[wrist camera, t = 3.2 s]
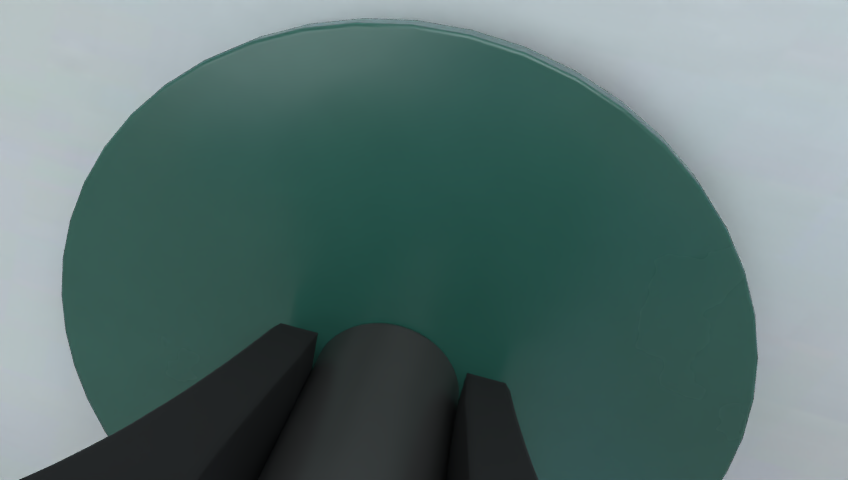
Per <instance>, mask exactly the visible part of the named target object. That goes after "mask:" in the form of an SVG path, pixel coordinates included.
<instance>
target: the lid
mask: <svg viewBox="0 0 848 480" xmlns="http://www.w3.org/2000/svg"><path fill="white" fill-rule="evenodd" d="M62 302H63V311H64V320H65V329H66V334H67V338H68V342H69V346H70V350H71V354H72V358H73V362H74V366H75V368H76V371H77V374H78V376H79V379H80V381H81V384H82V386H83V389H84V391H85V394H86V396H87V399H88V401H89V403H90V405H91V407H92V408H93V410H94V412H95V414H96V416H97V418H98V420H99V421H100V423H101V425H102V427H103V429H104V431H105V432H106V434H107V435H108V436H110V435H112V434H114V433H115V432H117V431H119V430H121V429H123V428H124V427H126V426H128V425H130V424H131V423H133V422H135V421H136V420H138V419H140V418H141V417H143V416H145V415H146V414H148V413H149V412H151V411H153V410H154V409H156V408H158V407H159V406H161V405H163V404H164V403H166V402H168V401H169V400H171V399H173V398H174V397H176V396H177V395H179V394H180V393H182V392H183V391H185V390H186V389H188V388H189V387H191V386H192V385H194V384H195V383H197V382H198V381H200V380H201V379H203V378H204V377H206V376H207V375H209V374H210V373H211V372H213V371H214V370H216V369H217V368H219V367H220V366H222V365H223V364H224V363H226V362H227V361H229V360H230V359H231V358H233V357H234V356H235V355H237V354H238V353H240V352H241V351H242V350H244V349H245V348H246V347H248V346H249V345H250V344H252V343H253V342H254V341H256V340H257V339H258V338H260V337H261V336H262V335H263V334H265V333H266V332H267V331H269V330H270V329H271V328H273V327H274V326H276V325H278V324H280V323H282V324H286V325H290V326H294V327H297V328H301V329H305V330H309V331H312V332H316V333H318V335H317V341H316V347H315V353H314V359H313V365H312V371H311V373H310V375H309V377H308V379H307V381H306V383H305V385H304V387H303V389H302V391H301V393H300V395H299V397H298V399H297V401H296V403H295V405H294V407H293V409H292V411H291V413H290V415H289V417H288V419H287V421H286V423H285V425H284V427H283V429H282V431H281V433H280V435H279V437H278V440H277V442H276V444H275V446H274V448H273V450H272V452H271V454H270V456H269V458H268V460H267V462H266V464H265V466H264V468H263V470H262V472H261V474H260V476H259V478H258V480H445V479H446V473H447V464H448V456H449V450H450V444H451V437H452V431H453V425H454V419H455V413H456V408H457V405H458V401H459V398H460V395H461V391H462V388H463V385H464V381H465V378H466V375H467V373H470V374H473V375H477V376H481V377H485V378H488V379H492V380H496V381H499V382H503V383H506V385H507V387H508V388H509V390H510V392H511V397H512V401H513V405H514V409H515V412H516V416H517V419H518V423H519V426H520V429H521V432H522V435H523V438H524V441H525V444H526V447H527V450H528V453H529V456H530V459H531V462H532V464H533V467H534V470H535V472H536V475H537V477H538V480H722V479H723V477H724V476H725V474H726V473H727V471H728V469H729V466H730V464H731V462H732V460H733V458H734V456H735V454H736V451H737V449H738V447H739V445H740V443H741V441H742V439H743V435H744V431H745V428H746V424H747V421H748V417H749V414H750V410H751V406H752V403H753V399H754V390H755V381H756V371H757V362H758V352H757V337H756V321H755V313H754V308H753V304H752V300H751V296H750V291H749V287H748V283H747V279H746V274H745V271H744V268H743V266H742V264H741V261H740V259H739V256H738V254H737V252H736V249H735V247H734V244H733V242H732V240H731V237H730V235H729V232H728V230H727V228H726V226H725V224H724V223H723V221H722V219H721V218H720V216H719V215H718V213H717V211H716V210H715V208H714V206H713V205H712V203H711V202H710V200H709V198H708V197H707V195H706V193H705V192H704V190H703V189H702V187H701V185H700V184H699V182H698V180H697V179H696V177H695V176H694V174H693V173H692V172H691V171H690V170H689V168H688V167H687V166H686V165H685V164H684V163H683V161H682V160H681V159H680V158H679V157H678V155H677V154H676V153H675V152H674V151H673V150H672V148H671V147H670V146H669V145H668V144H667V142H666V141H665V140H664V139H663V138H662V137H661V136H660V135H659V134H658V133H657V132H656V131H655V130H654V129H652V128H651V127H650V126H649V125H648V124H647V123H646V122H645V121H643V120H642V119H641V118H640V117H639V116H638V115H637V114H635V113H634V112H633V111H632V110H631V109H630V108H629V107H628V106H626V105H625V104H624V103H623V102H622V101H620V100H619V99H617V98H616V97H614V96H613V95H611V94H610V93H608V92H607V91H605V90H604V89H602V88H601V87H599V86H598V85H596V84H595V83H593V82H592V81H590V80H589V79H587V78H586V77H584V76H583V75H581V74H580V73H578V72H576V71H575V70H573V69H570V68H568V67H566V66H564V65H562V64H560V63H558V62H556V61H554V60H552V59H549V58H547V57H545V56H543V55H541V54H539V53H537V52H535V51H533V50H531V49H529V48H526V47H524V46H521V45H518V44H514V43H511V42H508V41H505V40H502V39H499V38H496V37H493V36H489V35H486V34H483V33H480V32H477V31H474V30H470V29H464V28H458V27H452V26H447V25H441V24H435V23H430V22H424V21H418V20H395V19H367V18H361V19H352V20H342V21H333V22H323V23H313V24H307V25H304V26H300V27H296V28H292V29H288V30H284V31H280V32H276V33H272V34H268V35H264V36H261V37H258V38H256V39H253V40H251V41H249V42H246V43H244V44H242V45H239V46H237V47H235V48H232V49H230V50H227V51H225V52H223V53H220V54H218V55H216V56H213V57H211V58H209V59H206V60H204V61H203V62H201V63H199V64H198V65H196V66H195V67H193V68H191V69H190V70H188V71H187V72H185V73H183V74H182V75H180V76H178V77H177V78H175V79H174V80H172V81H170V82H169V83H167V84H166V85H164V86H163V87H162V88H161V89H160V90H159V91H157V92H156V93H155V94H154V95H153V96H152V97H151V98H149V99H148V100H147V101H146V102H145V103H144V104H142V105H141V106H140V107H139V108H138V109H137V110H136V111H134V112H133V113H132V114H131V115H130V116H129V118H128V119H127V120H126V121H125V123H124V124H123V125H122V126H121V127H120V129H119V130H118V131H117V132H116V134H115V135H114V136H113V137H112V138H111V140H110V141H109V142H108V143H107V145H106V146H105V147H104V149H103V150H102V152H101V154H100V156H99V157H98V159H97V161H96V163H95V164H94V166H93V168H92V170H91V171H90V173H89V175H88V177H87V178H86V180H85V182H84V184H83V187H82V190H81V193H80V195H79V198H78V201H77V203H76V206H75V209H74V211H73V214H72V217H71V220H70V224H69V229H68V234H67V240H66V245H65V250H64V255H63V272H62Z"/></svg>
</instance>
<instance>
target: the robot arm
mask: <svg viewBox="0 0 848 480" xmlns="http://www.w3.org/2000/svg"><path fill="white" fill-rule="evenodd" d="M317 335H318V333H316V332H312V331H309V330H305V329H301V328H297V327H294V326H290V325H286V324H282V323H280V324H278V325H276V326H274V327H273V328H271V329H270V330H269V331H267V332H266V333H265V334H263V335H262V336H261V337H260V338H258V339H257V340H256V341H254V342H253V343H252V344H250V345H249V346H248V347H246V348H245V349H244V350H242V351H241V352H240V353H238V354H237V355H235V356H234V357H233V358H231V359H230V360H229V361H227V362H226V363H224V364H223V365H222V366H220V367H219V368H217V369H216V370H214V371H213V372H211V373H210V374H209V375H207V376H206V377H204V378H203V379H201V380H200V381H198V382H197V383H195V384H194V385H192V386H191V387H189V388H188V389H186V390H185V391H183V392H182V393H180V394H179V395H177V396H176V397H174V398H173V399H171V400H169V401H168V402H166V403H164V404H163V405H161V406H159V407H158V408H156V409H154V410H153V411H151V412H149V413H148V414H146V415H145V416H143V417H141V418H140V419H138V420H136V421H135V422H133V423H131V424H130V425H128V426H126V427H124V428H123V429H121V430H119V431H117V432H115V433H114V434H112V435H110V436H108V437H106V438H104V439H103V440H101V441H99V442H97V443H95V444H93V445H91V446H89V447H87V448H85V449H83V450H81V451H79V452H77V453H75V454H73V455H71V456H69V457H68V458H66V459H64V460H62V461H59V462H57V463H55V464H53V465H51V466H49V467H47V468H44V469H42V470H40V471H38V472H36V473H33V474H31V475H29V476H27V477H24V478H22V479H20V480H258V478H259V476H260V474H261V472H262V470H263V468H264V466H265V464H266V462H267V460H268V458H269V456H270V454H271V452H272V450H273V448H274V446H275V444H276V442H277V440H278V437H279V435H280V433H281V431H282V429H283V427H284V425H285V423H286V421H287V419H288V417H289V415H290V413H291V411H292V409H293V407H294V405H295V403H296V401H297V399H298V397H299V395H300V393H301V391H302V389H303V387H304V385H305V383H306V381H307V379H308V377H309V375H310V373H311V371H312V365H313V359H314V353H315V347H316V341H317ZM445 480H538V477H537V475H536V472H535V470H534V467H533V464H532V462H531V459H530V456H529V453H528V450H527V447H526V444H525V441H524V438H523V435H522V432H521V429H520V426H519V423H518V419H517V416H516V412H515V409H514V405H513V401H512V397H511V392H510V390H509V388H508V387H507V385H506V383H503V382H499V381H496V380H492V379H488V378H485V377H481V376H477V375H473V374H470V373H467V375H466V378H465V381H464V385H463V388H462V391H461V395H460V398H459V401H458V405H457V408H456V413H455V419H454V425H453V431H452V437H451V444H450V450H449V456H448V464H447V473H446V479H445Z"/></svg>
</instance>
